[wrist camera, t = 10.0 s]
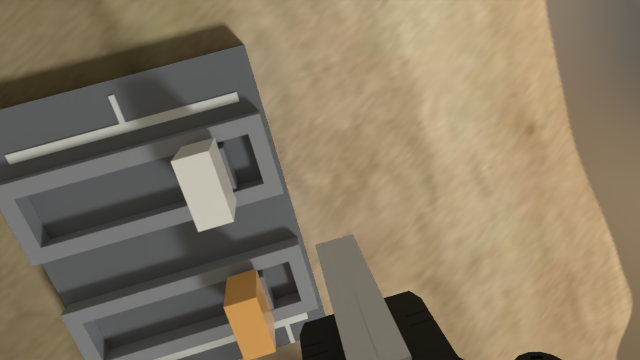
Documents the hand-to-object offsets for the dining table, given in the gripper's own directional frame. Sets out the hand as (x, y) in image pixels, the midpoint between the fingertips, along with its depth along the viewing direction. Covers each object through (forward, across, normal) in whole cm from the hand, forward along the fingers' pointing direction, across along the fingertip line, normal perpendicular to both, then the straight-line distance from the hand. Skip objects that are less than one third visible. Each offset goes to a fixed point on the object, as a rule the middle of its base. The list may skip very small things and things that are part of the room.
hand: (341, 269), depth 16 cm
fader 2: (+17, -7, -10) cm, 21 cm away
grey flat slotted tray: (+19, -12, -4) cm, 23 cm away
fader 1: (+17, -7, +1) cm, 19 cm away
